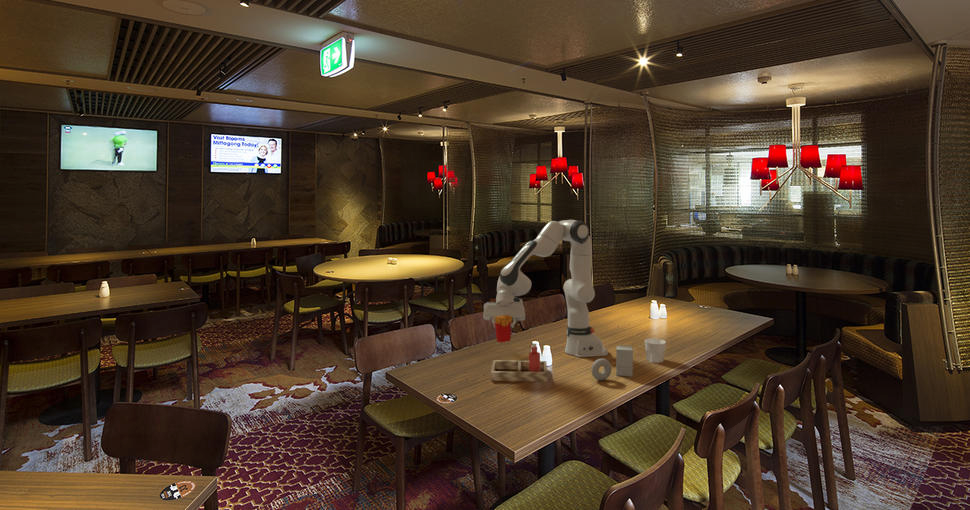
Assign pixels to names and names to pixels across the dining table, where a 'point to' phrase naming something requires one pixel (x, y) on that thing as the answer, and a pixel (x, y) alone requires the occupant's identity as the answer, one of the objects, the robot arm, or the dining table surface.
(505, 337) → the french fries
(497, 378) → the caddy
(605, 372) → the donut
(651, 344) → the cup
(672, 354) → the dining table surface
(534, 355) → the ketchup bottle
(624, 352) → the supplement box
